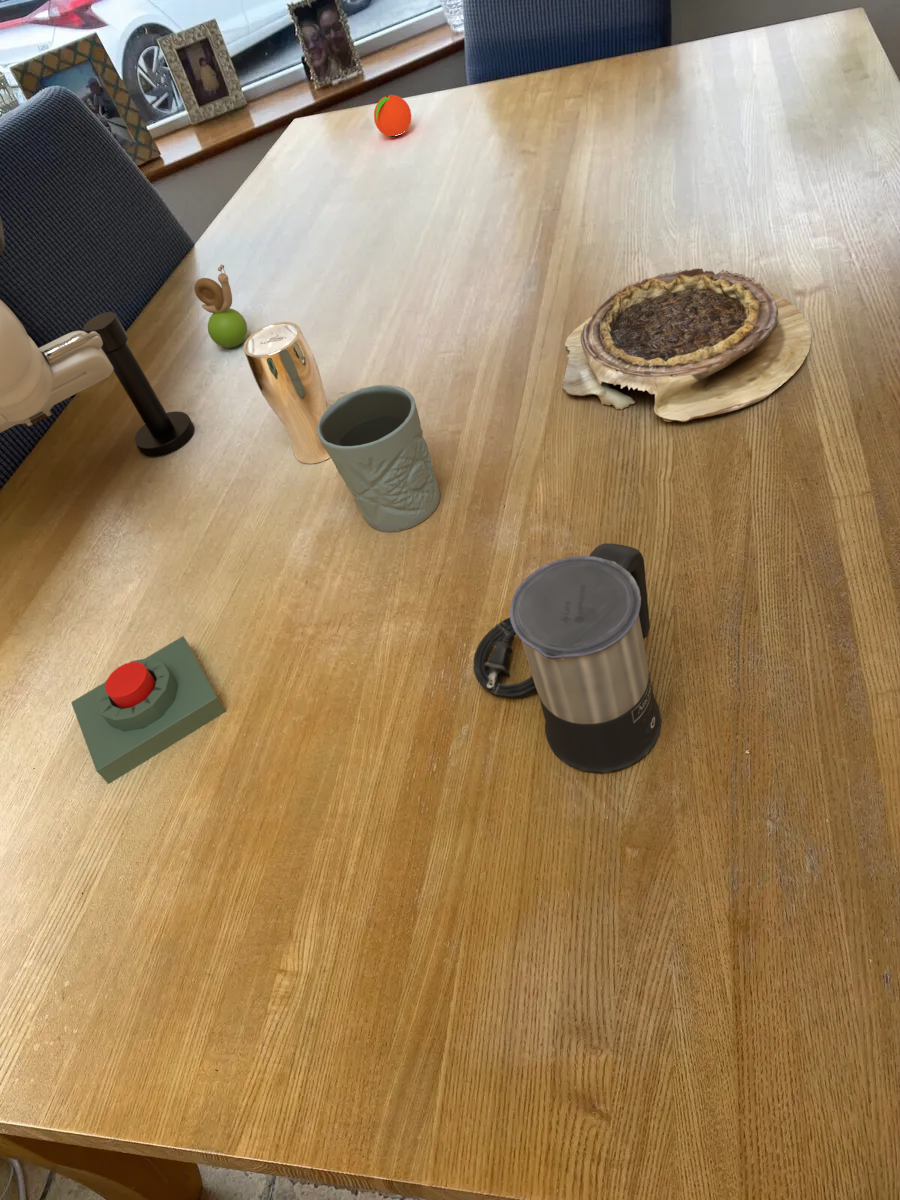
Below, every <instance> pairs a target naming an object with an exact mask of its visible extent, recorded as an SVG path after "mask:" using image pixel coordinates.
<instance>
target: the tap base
mask: <svg viewBox="0 0 900 1200" xmlns="http://www.w3.org/2000/svg"><path fill="white" fill-rule="evenodd" d="M127 342H128V341H126V343H125V344H124V345H122V346H121V347H120V348H118V349H116V350H114V351H111V352H108V353H105V354H106V356H107V358H108V359H109V361H110V363H111V364H112V366H113V368H114V370H113V372H114V374H115V375H116V377H117V380H119V383H120V384H121V386H122V387H123V389H124V391H125V393H126V394H127V397H129V399H130V401H131V402H132V404H133V406H134V408H135V410H136V411H137V413H138V415H139V417H140V418H141V420H142V421H143V423H144V424H142V426H141V427H140V428H139V429H137V432H136V433H135V435H134V443H135V445H136V447H137V448H138V451H139V452H140V454H141V455H142V456H144V457H148V458H161V457H165V456H167V455H170V454H173V453H174V452H176V451H178V450H180V449H181V448H183V447H184V446H185V445H186V444H188V443H189V441H190V440H191V439H192V438H193V436H194V434H195V429H196V428H195V425H194V423H193V421H192V419H191V417H190V416H189V414H187V413H186V412H183V411H177V410H176V411H168V412H166V410H165V408H164V406H163V405H162V403H161V401H160V398H158V396H157V394H156V392H155V390H154V388H153V387H152V385H151V383H150V382H149V380H148V378H147V375H146V374H145V372H144V370H143V369H142V367H141V365H140V364H139V362H138V360H137V357H136V356H135V355H134V353H133V351H132V350H131V348H130V346H129V344H128V343H127Z"/></svg>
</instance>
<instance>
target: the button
mask: <svg viewBox="0 0 900 1200" xmlns="http://www.w3.org/2000/svg"><path fill="white" fill-rule="evenodd" d="M129 662H130V663H129ZM129 662H127V663H123V664H122V665H120V666H117V668H115V669H114V670H113V671H112V672H111V673H110V674H109V675H108V677H107V679H106V680H107V681H106V680H105V681H106V684H105V690H106V693H107V694H108V695H109V696H110V698H111V699H112V700H113V701H114V702H115V704H116V705H117V706H119V707H122V708H130V707H134V706H135V705H137V704H139V703H140V702H142V701H144V700H145V699H146V698H147V697H148V696H149V695H150V693H151V692H152V691H153V690H154V687H155V680H154V678H153V676H152V675H151V674H150V672H149V671H148V670H147V668H146V667H145V666H144V665H143V664H141V663H139V662H131V661H129Z"/></svg>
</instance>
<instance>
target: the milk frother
mask: <svg viewBox="0 0 900 1200" xmlns="http://www.w3.org/2000/svg"><path fill="white" fill-rule="evenodd" d="M648 602H649V601H648V591H647V580H646V567H645V559H644V556H643V553H642V552H641V551H640V550H639V549H637V548H636V547H632V546H629V545H624V544H618V543H612V542H611V543H609V542H608V543H606V542H605V543H601V544H599V545H597V546H596V547H595V548H594V549H593V550H592V551H591V553H590V554H589V555H584V556H583V555H578V556H568V557H564V558H560V559H559V558H558V559H557V560H555V561H552V562H549V563H547V564H545V565H543V566H540V567H539V568H538V569H536V570H534V571H533V572H531V573H530V574H529V575H528V576H527V577H525V579H524V580H523V581H522V582H521V583H520V584H519V586H518V587H517V588H516V589H515V591H514V594H513V596H512V599H511V603H510V606H509V607H510V608H509V617H507V618H506V619H505V618H504V619H503V620H502V621H500V622H499V623H497V624H495V626H493V628H491V629H490V630H489V631H488V632H487V633H486V634H484V636H483V637H482V640H481V641H480V642H479V643H478V645H477V647H476V650H475V652H474V655H473V656H474V657H473V673H474V676H475V678H476V680H477V682H478V684H479V685H480V686H481V687H482V688H483V689H484V690H485V691H487V692H488V693H489V694H492V695H493V696H496V697H501V698H505V699H520V698H525V697H527V696H530V695H532V694H534V693H536V692H537V696H538V699H539V702H540V705H541V709H542V713H543V717H544V721H545V723H544V724H545V725H544V734H545V737H546V741H547V743H548V745H549V747H550V749H551V751H552V752H553V753H554V755H555V756H556V757H557V758H558V759H559V760H560V761H562V762H563V763H565V764H566V765H567V766H569V767H571V768H574V769H576V770H579V771H581V772H587V773H593V774H594V773H596V774H603V773H612V772H617V771H620V770H624V769H627V768H629V767H630V766H633V765H635V764H636V763H638V762H639V761H641V760H642V759H644V757H645V756H647V754H649V752H650V751H651V750H652V749H653V747H654V746H655V744H656V742H657V741H658V737H659V735H660V732H661V728H662V716H661V715H662V714H661V710H660V707H659V704H658V702H657V700H656V698H655V695H654V691H653V686H652V680H651V676H650V675H651V674H650V669H649V664H648V663H649V662H648V657H647V652H646V646H645V641H644V639H646V638H647V637H648V636H649V632H650V627H651V624H650V612H649V603H648ZM515 635H516V636H517V637H518V638H519V640H520V642H521V645H522V649H523V651H524V654H525V657H526V660H527V663H528V667H529V670H530V673H531V676H530V677H528V678H526V679H525V680H522V681H520V682H517V683H512V684H510V683H502V682H499V677H500V676H502V677H505V678H510V675H511V674H510V672H509V668H510V661H511V654H512V653H513V650H514V649H512V648H513V647H512V644H513V642H514V641H515ZM489 657H490V658H489Z"/></svg>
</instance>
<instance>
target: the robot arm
mask: <svg viewBox="0 0 900 1200" xmlns="http://www.w3.org/2000/svg"><path fill="white" fill-rule="evenodd" d="M4 231H5V230H4V225H3V220H2V216H0V255H2V253H3V252H4V251H5V249H6V242H5V232H4ZM84 331H85V330H75V331H71V332H68V333H67V334H64V335H62V336H60V337H58V338H56V339H54V340H52V341H50V342H48V343H45V344H44V345H41V346H39V347H38V345H37V344H36V343H35V341H34V340H33V338H32V337H31V336H30V335H29V334H28V332H27V330H26V328H25V327H24V325H23V323H22V322H21V321H20V319H19V317H17V316H16V314H15V313H14V312H13V311H12V309H11V308H10V307H9V306H8V305H7V304H6V303H5V302H4V301H3V300H1V299H0V434H1V433H3V432H5V431H7V430H8V429H11V428H12V427H14V426H17V425H25V424H26V425H27V427H31V426H33V425H35V424H36V423H38V422H40V421H42V420H44V419H46V418H48V417H50V416H52V415H53V414H52V413H51V409H53V407H54V406H55V405H57V404H59V403H62V402H63V401H65V400H67V399H70V398H71V397H72V396H74V395H77V394H79V393H80V392H82V391H84V390H86V389H88V388H90V387H92V386H94V385H97V384H98V383H100V382H103V381H104V380H106V379H107V378H109V377H110V376H111V374H112V373H113V372H114V368H113V366H112V364H111V363H110V361H109V359H108V358H107V356H106V354H105V353H104V351H103V350H102V348H101V347H102V345H103V342H102V339H101V337H100V335H99V334H98V333H97V332H95V331H93V332H90V333H86V332H84Z"/></svg>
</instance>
